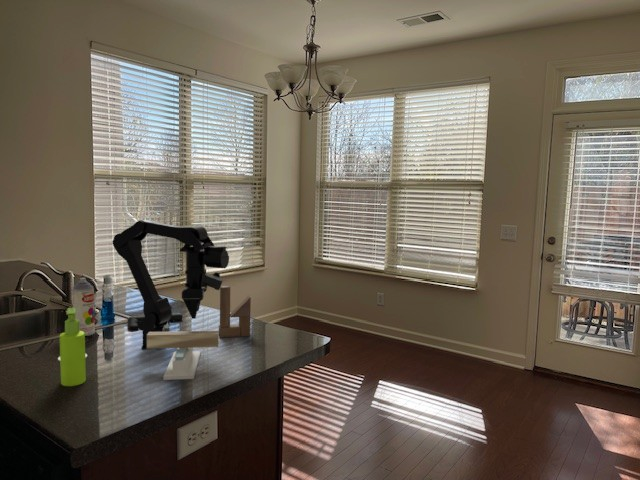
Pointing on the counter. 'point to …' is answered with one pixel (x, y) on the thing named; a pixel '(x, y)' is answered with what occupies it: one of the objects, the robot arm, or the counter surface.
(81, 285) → the aerosol can
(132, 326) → the door handle
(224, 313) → the wooden block
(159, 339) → the birch bar
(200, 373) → the counter surface
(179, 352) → the ridge stand
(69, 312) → the soap dispenser
